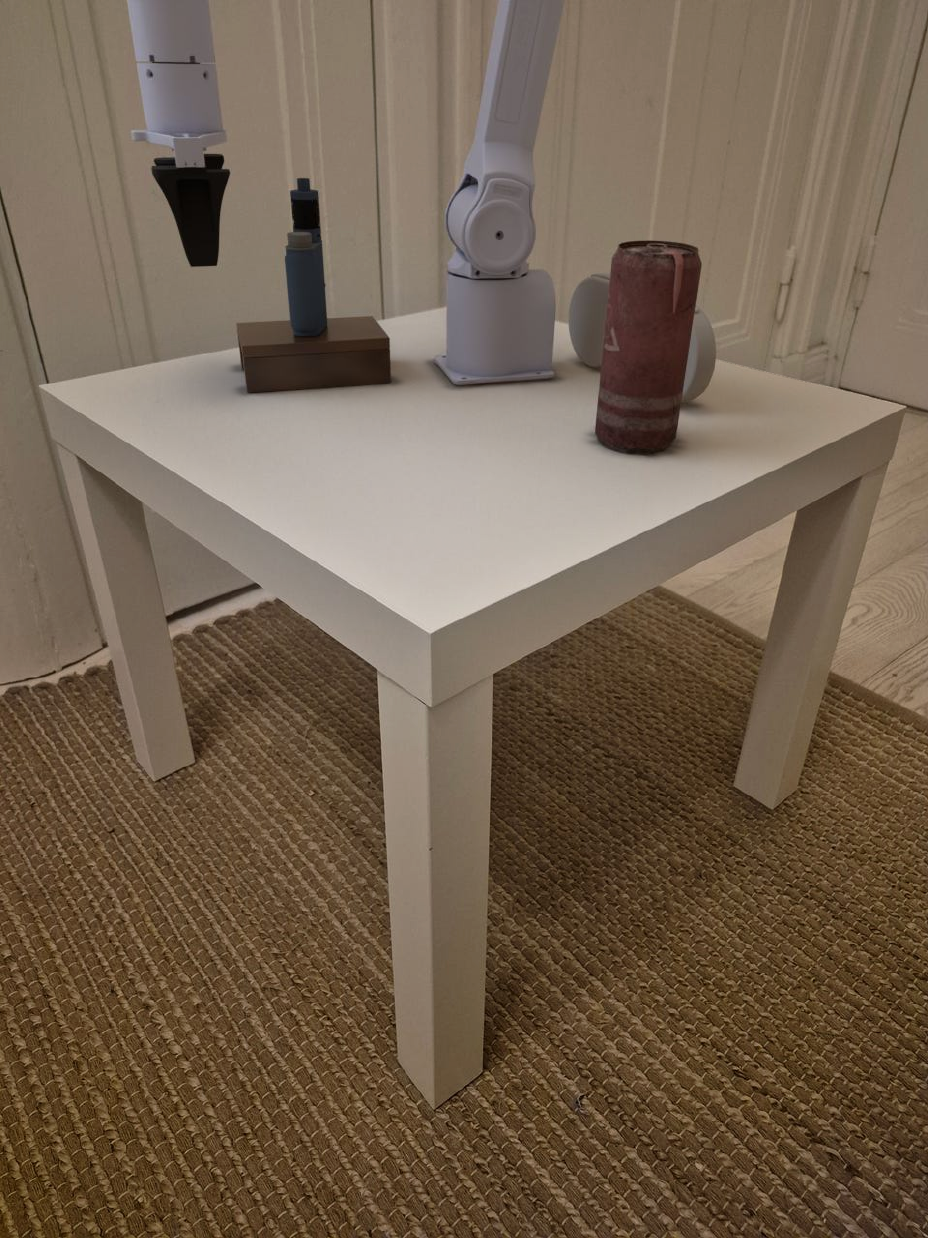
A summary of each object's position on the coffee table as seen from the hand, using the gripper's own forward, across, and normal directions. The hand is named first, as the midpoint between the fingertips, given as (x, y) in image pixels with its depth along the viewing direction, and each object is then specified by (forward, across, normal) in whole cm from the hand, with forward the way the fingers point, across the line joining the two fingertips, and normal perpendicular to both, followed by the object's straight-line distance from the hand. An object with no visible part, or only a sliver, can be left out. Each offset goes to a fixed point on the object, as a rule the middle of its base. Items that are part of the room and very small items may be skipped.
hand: (202, 256), depth 74 cm
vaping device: (+7, 0, +8) cm, 11 cm away
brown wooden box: (+10, 0, +8) cm, 13 cm away
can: (+11, +22, +30) cm, 39 cm away
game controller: (+11, +8, +36) cm, 38 cm away
